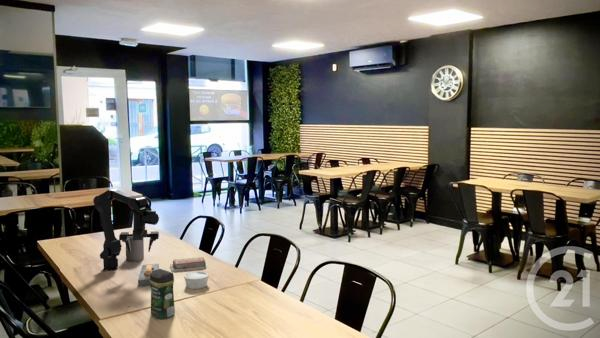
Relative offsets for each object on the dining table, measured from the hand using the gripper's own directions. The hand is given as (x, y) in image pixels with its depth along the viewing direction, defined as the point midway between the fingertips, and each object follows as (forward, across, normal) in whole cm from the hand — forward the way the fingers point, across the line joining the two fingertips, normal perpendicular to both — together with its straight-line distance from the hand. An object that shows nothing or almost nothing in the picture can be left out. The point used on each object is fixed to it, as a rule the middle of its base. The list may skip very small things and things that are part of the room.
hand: (139, 252), depth 236 cm
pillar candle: (+12, -5, +26) cm, 30 cm away
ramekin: (+11, +28, -23) cm, 38 cm away
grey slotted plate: (+11, +5, -6) cm, 14 cm away
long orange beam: (+11, +5, -7) cm, 14 cm away
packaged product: (+12, +24, +6) cm, 27 cm away
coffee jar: (+10, +15, -54) cm, 57 cm away
